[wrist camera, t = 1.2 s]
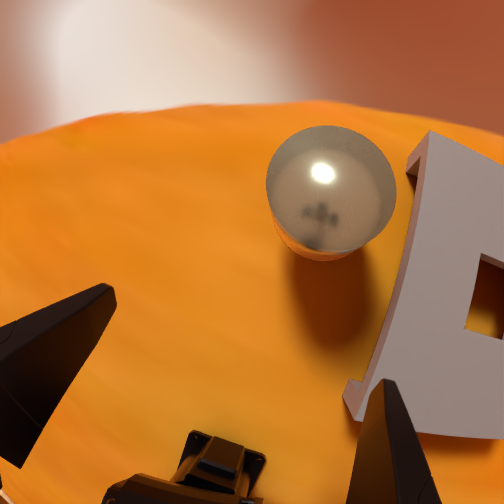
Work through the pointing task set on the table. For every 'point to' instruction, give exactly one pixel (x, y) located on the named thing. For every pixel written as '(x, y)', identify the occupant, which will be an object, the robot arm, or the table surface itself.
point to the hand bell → (6, 497)
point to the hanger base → (443, 299)
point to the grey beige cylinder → (329, 192)
